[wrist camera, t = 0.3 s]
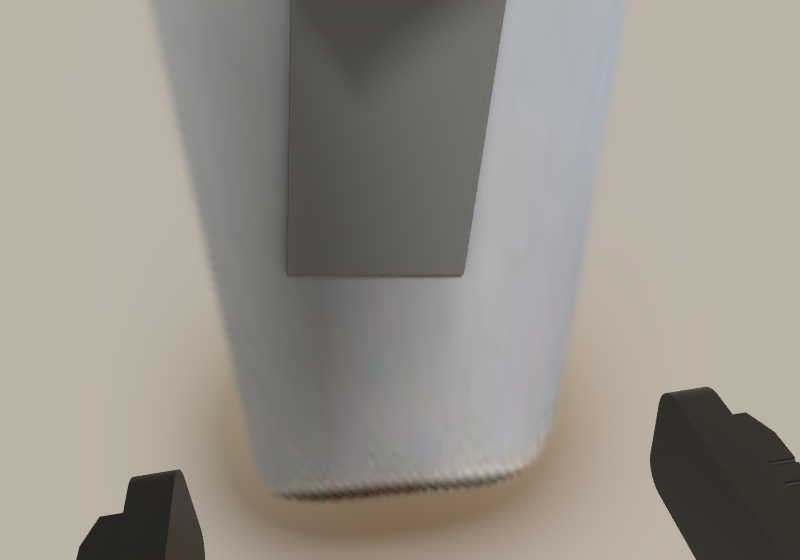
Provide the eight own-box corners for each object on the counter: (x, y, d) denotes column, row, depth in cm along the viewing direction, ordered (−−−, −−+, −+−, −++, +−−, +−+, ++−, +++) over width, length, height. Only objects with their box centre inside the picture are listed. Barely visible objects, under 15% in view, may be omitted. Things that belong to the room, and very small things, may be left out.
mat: (292, -139, 32) (293, -139, 31) (521, -118, 33) (524, -117, 33) (287, 271, 42) (287, 275, 42) (462, 270, 44) (463, 274, 43)
